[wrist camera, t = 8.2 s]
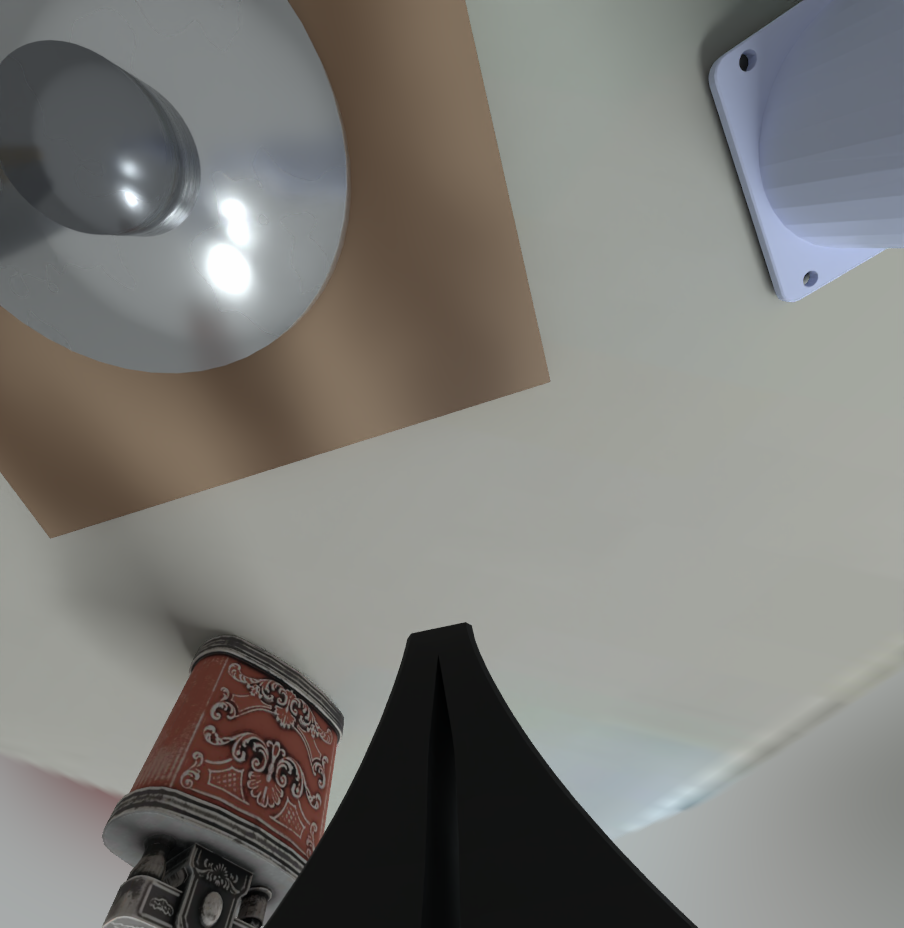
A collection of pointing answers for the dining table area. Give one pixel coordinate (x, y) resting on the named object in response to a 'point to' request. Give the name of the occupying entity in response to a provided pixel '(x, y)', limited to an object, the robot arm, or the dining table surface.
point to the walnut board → (330, 318)
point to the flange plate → (243, 196)
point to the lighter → (226, 795)
